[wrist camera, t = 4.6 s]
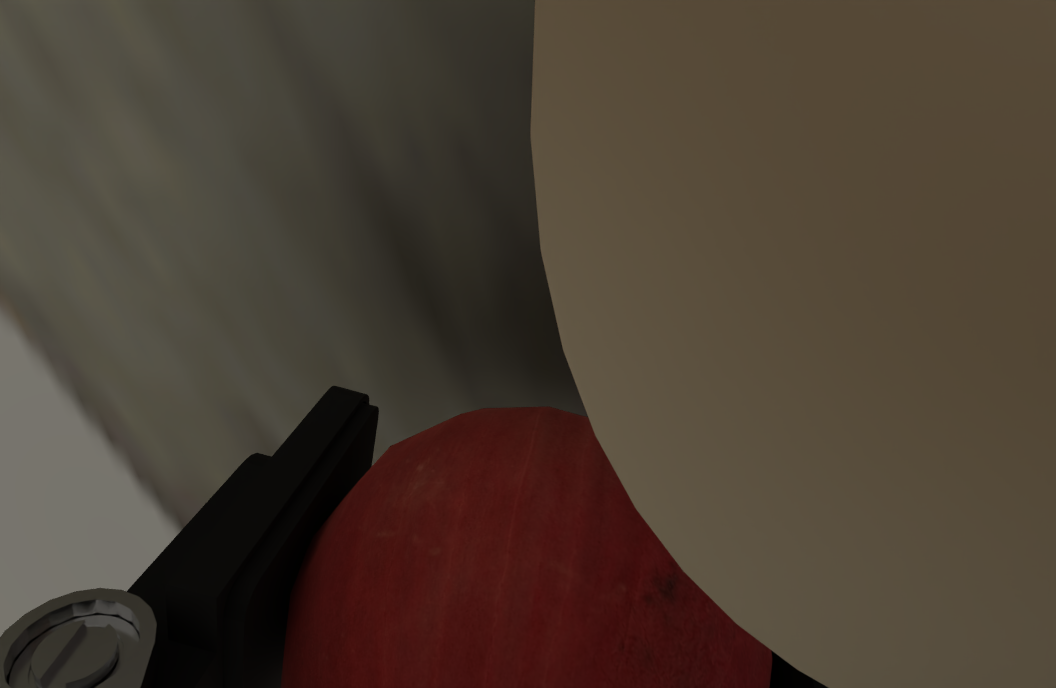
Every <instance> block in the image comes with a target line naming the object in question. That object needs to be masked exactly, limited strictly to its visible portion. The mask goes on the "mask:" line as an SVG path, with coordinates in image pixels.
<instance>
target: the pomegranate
mask: <svg viewBox="0 0 1056 688" xmlns="http://www.w3.org/2000/svg"><path fill="white" fill-rule="evenodd" d="M771 668H772V652H771V649H769V648H768V647H767V646H765V645H764V644H763V643H761V642H760V641H759V640H757V639H756V638H755V637H753V636H752V635H751V634H749V633H748V632H747V631H745V630H744V629H743V628H741V627H740V626H739V625H737V624H736V623H735V622H734V621H733V620H732V619H731V618H730V617H729V616H728V615H727V614H726V613H725V612H724V611H723V610H722V609H721V608H720V607H719V606H718V605H717V604H716V603H715V602H714V601H713V600H712V599H711V598H710V597H709V596H708V595H707V594H706V593H705V592H704V591H703V590H702V589H701V588H700V587H699V586H698V585H697V584H696V583H695V582H694V581H693V580H692V579H691V578H690V577H689V576H688V575H687V574H686V573H685V572H684V571H683V570H682V569H681V567H680V566H679V565H678V563H677V562H676V561H675V559H674V558H673V557H672V556H671V554H670V553H669V552H668V550H667V549H666V548H665V546H664V545H663V544H662V542H661V541H660V540H659V538H658V537H657V536H656V535H655V533H654V532H653V531H652V529H651V528H650V527H649V525H648V524H647V523H646V521H645V520H644V519H643V517H642V516H641V515H640V513H639V512H638V511H637V510H636V508H635V506H634V504H633V503H632V501H631V499H630V497H629V495H628V494H627V492H626V490H625V488H624V486H623V485H622V483H621V481H620V479H619V477H618V476H617V474H616V472H615V470H614V468H613V467H612V465H611V463H610V461H609V459H608V457H607V456H606V454H605V452H604V450H603V448H602V447H601V445H600V443H599V441H598V439H597V438H596V436H595V433H594V431H593V428H592V425H591V423H590V420H589V418H588V417H585V416H581V415H577V414H574V413H570V412H566V411H563V410H559V409H556V408H552V407H516V408H484V409H479V410H475V411H471V412H467V413H463V414H460V415H458V416H455V417H453V418H451V419H449V420H447V421H444V422H442V423H440V424H438V425H436V426H434V427H431V428H429V429H427V430H425V431H423V432H420V433H418V434H416V435H414V436H412V437H410V438H407V439H405V440H403V441H401V442H399V443H396V444H394V445H392V446H390V447H389V449H388V450H387V451H386V452H385V453H384V454H383V455H382V456H381V457H380V458H379V459H378V460H377V462H376V463H375V464H374V465H373V466H372V467H371V468H370V469H369V470H368V471H367V472H366V474H365V475H364V476H363V477H362V478H361V479H360V480H359V481H358V482H357V484H356V485H355V486H354V487H353V488H352V489H351V490H350V491H349V493H348V494H347V495H346V496H345V497H344V498H343V500H342V501H341V502H340V503H339V505H338V506H337V507H336V508H335V510H334V511H333V512H332V513H331V515H330V516H329V517H328V518H327V520H326V521H325V522H324V523H323V525H322V526H321V527H320V529H319V530H318V531H317V532H316V534H315V535H314V536H313V538H312V540H311V542H310V544H309V546H308V549H307V551H306V554H305V556H304V559H303V562H302V564H301V567H300V570H299V572H298V575H297V578H296V580H295V583H294V585H293V588H292V591H291V593H290V602H289V611H288V620H287V629H286V638H285V648H284V657H283V668H282V678H281V688H770V678H771Z"/></svg>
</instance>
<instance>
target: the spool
mask: <svg viewBox="0 0 1056 688" xmlns="http://www.w3.org/2000/svg"><path fill="white" fill-rule="evenodd" d="M530 136H531V147H532V158H533V169H534V180H535V192H536V203H537V214H538V225H539V236H540V248H541V254H542V259H543V263H544V268H545V272H546V276H547V281H548V285H549V290H550V294H551V299H552V303H553V307H554V312H555V316H556V321H557V325H558V330H559V334H560V338H561V343H562V347H563V351H564V354H565V357H566V359H567V362H568V365H569V367H570V370H571V372H572V375H573V378H574V380H575V383H576V386H577V388H578V391H579V394H580V396H581V399H582V402H583V404H584V407H585V409H586V412H587V415H588V417H589V420H590V423H591V425H592V428H593V431H594V433H595V436H596V438H597V439H598V441H599V443H600V445H601V447H602V448H603V450H604V452H605V454H606V456H607V457H608V459H609V461H610V463H611V465H612V467H613V468H614V470H615V472H616V474H617V476H618V477H619V479H620V481H621V483H622V485H623V486H624V488H625V490H626V492H627V494H628V495H629V497H630V499H631V501H632V503H633V504H634V506H635V508H636V510H637V511H638V512H639V513H640V515H641V516H642V517H643V519H644V520H645V521H646V523H647V524H648V525H649V527H650V528H651V529H652V531H653V532H654V533H655V535H656V536H657V537H658V538H659V540H660V541H661V542H662V544H663V545H664V546H665V548H666V549H667V550H668V552H669V553H670V554H671V556H672V557H673V558H674V559H675V561H676V562H677V563H678V565H679V566H680V567H681V569H682V570H683V571H684V572H685V573H686V574H687V575H688V576H689V577H690V578H691V579H692V580H693V581H694V582H695V583H696V584H697V585H698V586H699V587H700V588H701V589H702V590H703V591H704V592H705V593H706V594H707V595H708V596H709V597H710V598H711V599H712V600H713V601H714V602H715V603H716V604H717V605H718V606H719V607H720V608H721V609H722V610H723V611H724V612H725V613H726V614H727V615H728V616H729V617H730V618H731V619H732V620H733V621H734V622H735V623H736V624H737V625H739V626H740V627H741V628H743V629H744V630H745V631H747V632H748V633H749V634H751V635H752V636H753V637H755V638H756V639H757V640H759V641H760V642H761V643H763V644H764V645H765V646H767V647H768V648H769V649H771V650H772V651H773V652H775V653H776V654H777V655H778V656H780V657H781V658H782V659H784V660H785V661H786V662H788V663H789V664H790V665H792V666H793V667H794V668H796V669H797V670H799V671H801V672H802V673H804V674H806V675H808V676H809V677H811V678H813V679H815V680H816V681H818V682H820V683H822V684H823V685H825V686H827V687H828V688H1056V0H535V19H534V48H533V76H532V105H531V134H530Z"/></svg>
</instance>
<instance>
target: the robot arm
mask: <svg viewBox="0 0 1056 688" xmlns="http://www.w3.org/2000/svg"><path fill="white" fill-rule="evenodd" d="M378 415H379V409H378V407H376V406H372V405H369V396H368V395H367V394H363V393H360V392H356V391H352V390H349V389H345V388H341V387H337V386H332V387H331V388H330V389H329V390H328V391H327V392H326V393H325V394H324V395H323V397H322V398H321V399H320V400H319V401H318V403H317V404H316V405H315V406H314V407H313V408H312V410H311V411H310V412H309V413H308V414H307V416H306V417H305V418H304V419H303V420H302V422H301V423H300V424H299V425H298V426H297V427H296V429H295V430H294V431H293V432H292V433H291V435H290V436H289V437H288V438H287V439H286V441H285V442H284V443H283V444H282V445H281V446H280V448H279V449H278V450H277V451H276V452H275V454H274V455H273V456H272V457H271V456H267V455H263V454H260V453H255V454H253V455H251V456H249V457H248V458H247V459H246V460H245V461H244V462H243V463H242V464H241V465H240V466H239V467H238V468H237V470H236V471H235V472H234V473H233V474H232V475H231V476H230V477H229V478H228V480H227V481H226V482H225V483H224V484H223V485H222V486H221V487H220V488H219V490H218V491H217V492H216V493H215V494H214V495H213V496H212V497H211V498H210V500H209V501H208V502H207V503H206V504H205V505H204V506H203V507H202V508H201V510H200V511H199V512H198V513H197V514H196V515H195V516H194V517H193V518H192V520H191V521H190V522H189V523H188V524H187V525H186V526H185V527H184V528H183V530H182V531H181V532H180V533H179V534H178V535H177V536H176V537H175V538H174V540H173V541H172V542H171V543H170V544H169V545H168V546H167V547H166V548H165V549H164V551H163V552H162V553H161V554H160V555H159V556H158V557H157V558H156V560H155V561H154V562H153V563H152V564H151V565H150V566H149V567H148V568H147V569H146V571H145V572H144V573H143V574H142V575H141V576H140V577H139V578H138V579H137V581H136V582H135V583H134V584H133V585H132V586H131V587H130V588H129V589H128V591H127V592H126V591H123V590H116V589H104V588H97V589H90V590H83V591H76V592H73V593H70V594H67V595H64V596H61V597H58V598H55V599H52V600H49V601H48V602H46V603H44V604H42V605H40V606H39V607H37V608H35V609H33V610H31V611H30V612H28V613H26V614H25V615H24V616H22V617H21V618H20V619H19V620H18V621H16V622H15V623H14V624H13V625H12V626H10V627H9V628H8V629H7V630H6V631H5V632H4V633H3V634H2V636H1V637H0V688H281V678H282V668H283V657H284V648H285V638H286V629H287V620H288V611H289V602H290V593H291V591H292V588H293V585H294V583H295V580H296V578H297V575H298V572H299V570H300V567H301V564H302V562H303V559H304V556H305V554H306V551H307V549H308V546H309V544H310V542H311V540H312V538H313V536H314V535H315V534H316V532H317V531H318V530H319V529H320V527H321V526H322V525H323V523H324V522H325V521H326V520H327V518H328V517H329V516H330V515H331V513H332V512H333V511H334V510H335V508H336V507H337V506H338V505H339V503H340V502H341V501H342V500H343V498H344V497H345V496H346V495H347V494H348V493H349V491H350V490H351V489H352V488H353V487H354V486H355V485H356V484H357V482H358V481H359V480H360V479H361V478H362V477H363V476H364V475H365V474H366V472H367V471H368V470H369V469H370V468H371V465H372V458H373V451H374V444H375V437H376V430H377V422H378ZM771 652H772V668H771V678H770V688H828V687H827V686H825V685H823V684H822V683H820V682H818V681H816V680H815V679H813V678H811V677H809V676H808V675H806V674H804V673H802V672H801V671H799V670H797V669H796V668H794V667H793V666H792V665H790V664H789V663H788V662H786V661H785V660H784V659H782V658H781V657H780V656H778V655H777V654H776V653H775V652H773V651H772V650H771Z"/></svg>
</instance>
